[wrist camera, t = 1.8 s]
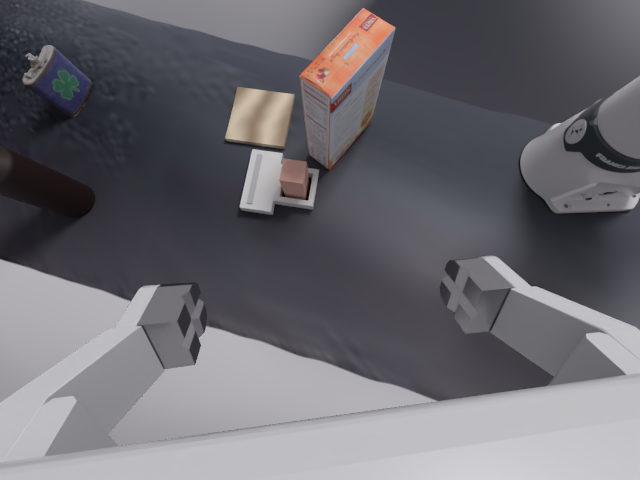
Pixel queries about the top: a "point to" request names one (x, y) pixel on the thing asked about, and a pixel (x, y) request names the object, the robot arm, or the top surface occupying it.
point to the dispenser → (270, 184)
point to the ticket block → (294, 178)
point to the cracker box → (344, 86)
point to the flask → (57, 81)
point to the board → (260, 118)
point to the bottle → (42, 185)
